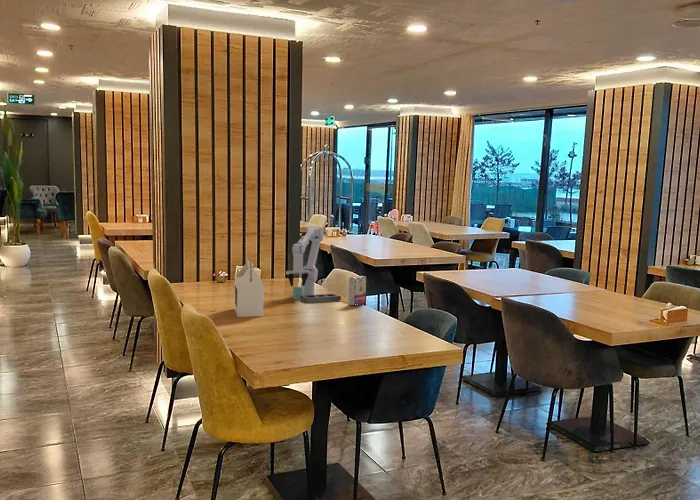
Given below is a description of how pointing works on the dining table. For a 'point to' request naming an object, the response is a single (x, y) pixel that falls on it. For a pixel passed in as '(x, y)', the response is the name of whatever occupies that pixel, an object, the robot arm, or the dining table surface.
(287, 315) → the dining table surface
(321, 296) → the rail
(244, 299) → the gable box
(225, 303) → the dining table surface
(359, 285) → the candy bar box
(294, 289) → the square peg
